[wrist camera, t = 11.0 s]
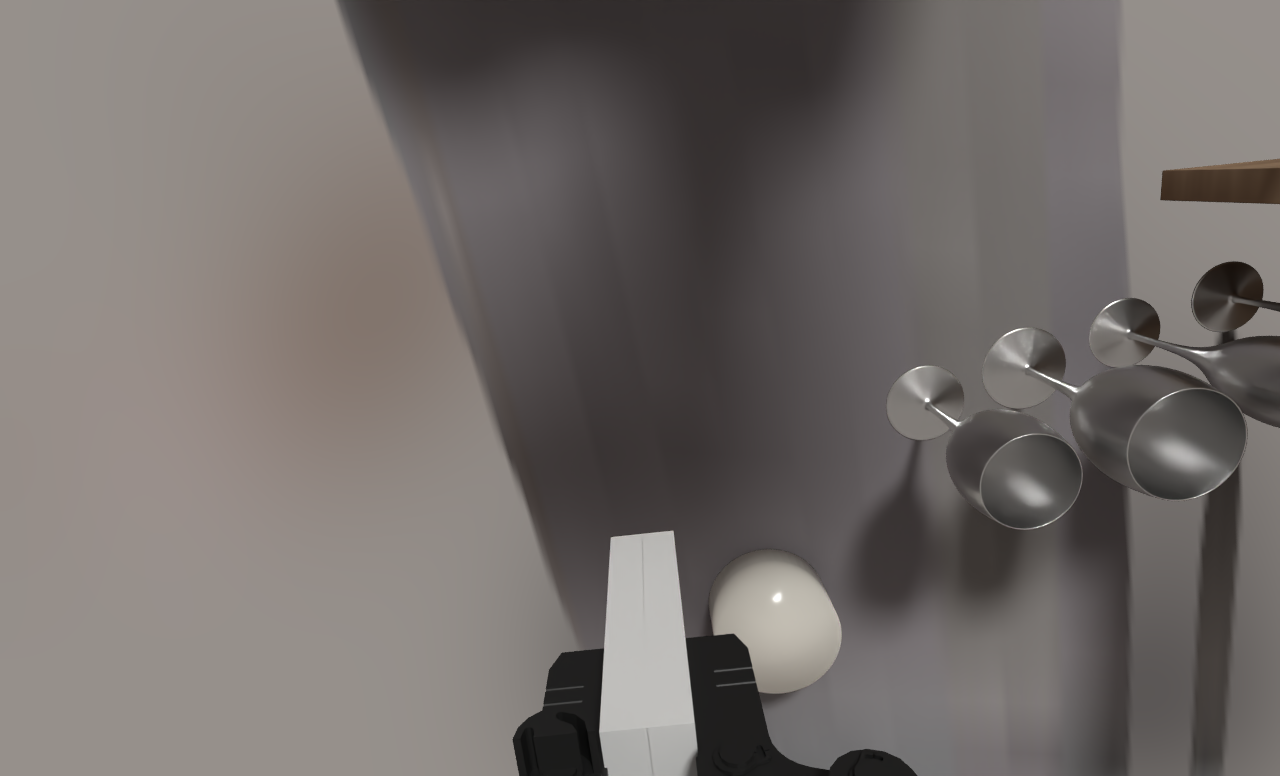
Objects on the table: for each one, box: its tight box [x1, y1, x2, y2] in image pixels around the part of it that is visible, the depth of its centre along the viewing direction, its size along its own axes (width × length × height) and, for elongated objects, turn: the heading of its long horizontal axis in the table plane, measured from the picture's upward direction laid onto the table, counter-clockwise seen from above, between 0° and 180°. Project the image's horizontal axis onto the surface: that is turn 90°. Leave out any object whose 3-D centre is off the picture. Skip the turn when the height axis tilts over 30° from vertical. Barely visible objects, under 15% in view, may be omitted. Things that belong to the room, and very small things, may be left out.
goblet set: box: [886, 262, 1280, 530], centre depth 36 cm, size 28×6×13 cm, turn 110°
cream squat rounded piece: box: [709, 549, 842, 694], centre depth 44 cm, size 7×7×4 cm
